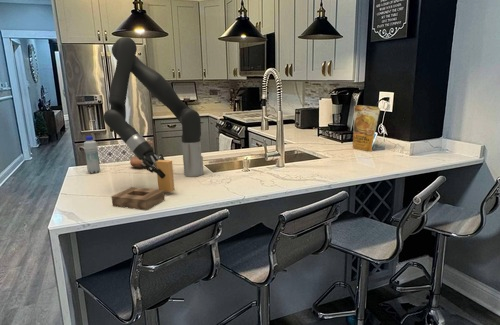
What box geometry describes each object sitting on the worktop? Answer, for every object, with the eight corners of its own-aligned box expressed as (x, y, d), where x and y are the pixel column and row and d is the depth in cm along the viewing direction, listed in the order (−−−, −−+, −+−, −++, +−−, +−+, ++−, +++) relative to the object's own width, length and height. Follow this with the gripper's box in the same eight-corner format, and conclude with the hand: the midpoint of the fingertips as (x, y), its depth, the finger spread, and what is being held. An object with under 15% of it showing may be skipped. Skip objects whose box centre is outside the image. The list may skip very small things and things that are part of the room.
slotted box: (112, 205, 138) (111, 196, 137) (132, 196, 149) (131, 187, 148) (146, 210, 132) (145, 200, 131) (164, 199, 143) (163, 190, 142)
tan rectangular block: (158, 190, 150) (155, 161, 147) (162, 188, 153) (160, 159, 150) (170, 191, 148) (168, 162, 145) (174, 189, 151) (172, 160, 148)
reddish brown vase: (160, 167, 195) (158, 142, 192) (134, 171, 188) (131, 145, 185) (152, 162, 210) (150, 138, 207) (127, 165, 203) (124, 141, 200)
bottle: (90, 171, 192) (84, 135, 187) (102, 170, 192) (97, 134, 187) (85, 174, 185) (80, 137, 180) (98, 173, 186) (93, 136, 181)
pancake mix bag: (355, 146, 237) (357, 104, 230) (378, 151, 221) (381, 106, 214) (348, 147, 233) (350, 105, 227) (371, 152, 217) (373, 107, 211)
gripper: (133, 143, 142) (161, 174, 141) (154, 138, 155) (180, 166, 154) (124, 155, 145) (152, 186, 144) (145, 149, 158) (170, 177, 157)
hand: (166, 175), depth 149 cm, fingers closed on tan rectangular block, 3 cm apart
